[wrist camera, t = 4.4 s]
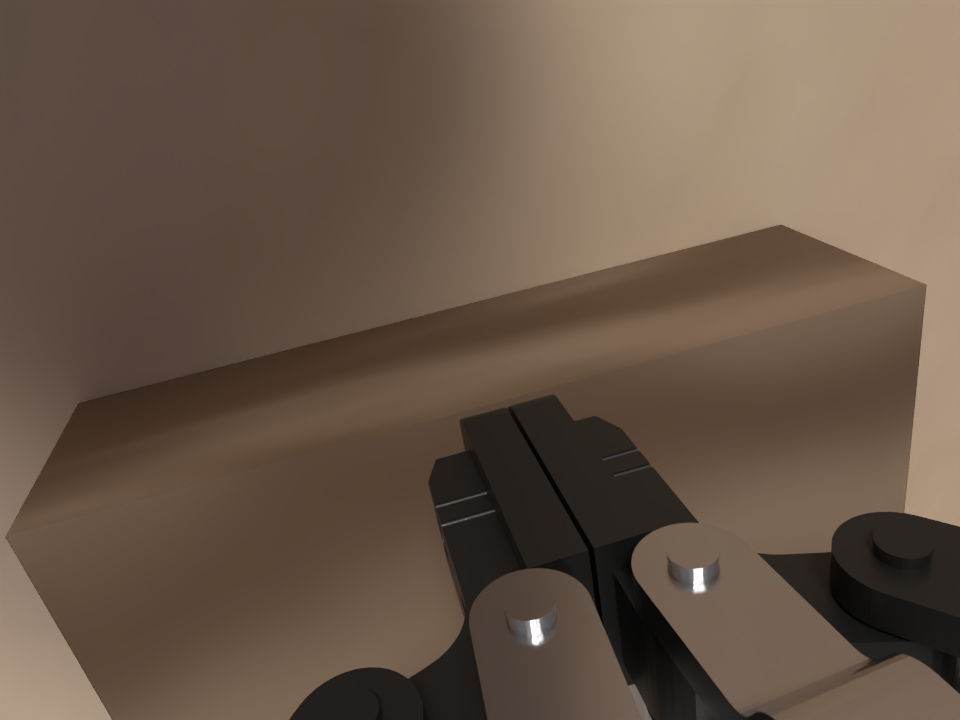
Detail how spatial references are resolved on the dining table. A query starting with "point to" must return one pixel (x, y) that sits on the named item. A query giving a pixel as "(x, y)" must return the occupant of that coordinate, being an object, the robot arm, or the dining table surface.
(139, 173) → the dining table surface
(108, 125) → the dining table surface
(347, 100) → the dining table surface
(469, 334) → the hole board
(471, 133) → the dining table surface
